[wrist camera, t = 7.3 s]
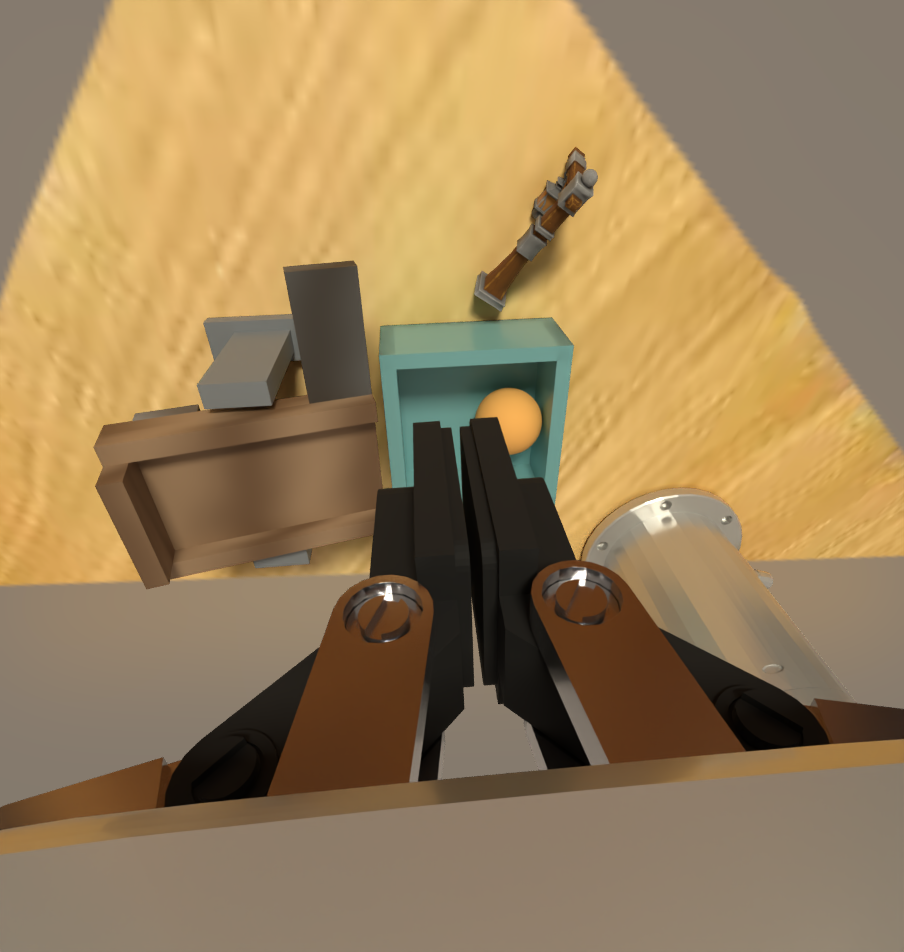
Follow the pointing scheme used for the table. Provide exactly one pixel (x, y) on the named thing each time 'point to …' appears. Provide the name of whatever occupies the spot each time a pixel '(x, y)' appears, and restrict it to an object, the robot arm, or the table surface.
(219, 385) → the lever stand
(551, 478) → the teal open box
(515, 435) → the ball
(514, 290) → the table surface
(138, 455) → the lever
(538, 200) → the wooden post with brackets
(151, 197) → the table surface
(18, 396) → the table surface
